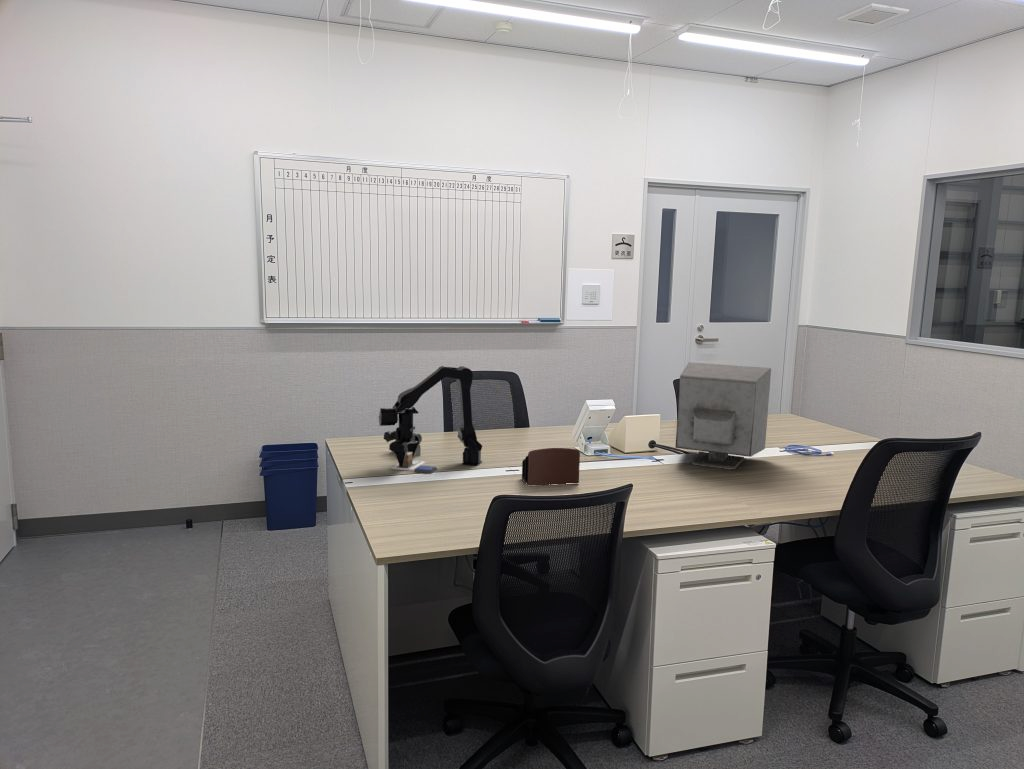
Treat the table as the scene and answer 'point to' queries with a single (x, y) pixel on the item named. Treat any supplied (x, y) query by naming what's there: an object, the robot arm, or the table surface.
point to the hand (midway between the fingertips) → (405, 463)
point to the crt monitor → (722, 412)
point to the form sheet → (414, 466)
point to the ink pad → (425, 469)
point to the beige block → (407, 460)
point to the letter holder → (551, 466)
